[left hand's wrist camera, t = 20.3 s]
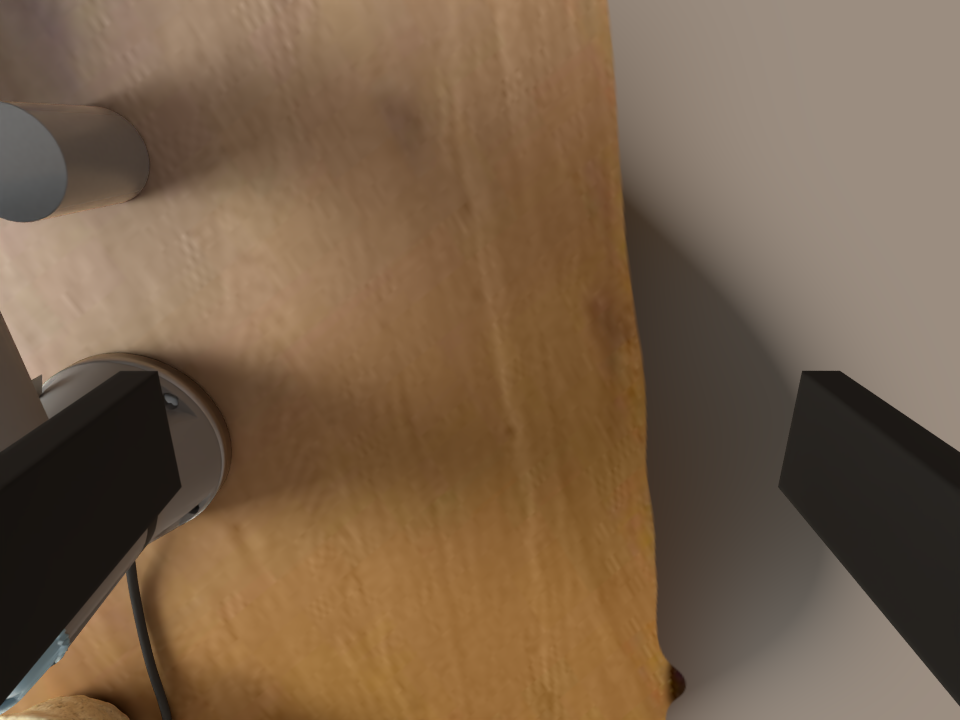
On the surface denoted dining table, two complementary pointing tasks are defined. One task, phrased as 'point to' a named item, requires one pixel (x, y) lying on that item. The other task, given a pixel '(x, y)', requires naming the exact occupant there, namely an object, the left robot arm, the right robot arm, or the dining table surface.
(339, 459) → the dining table surface
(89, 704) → the bowl
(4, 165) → the grey cylinder
